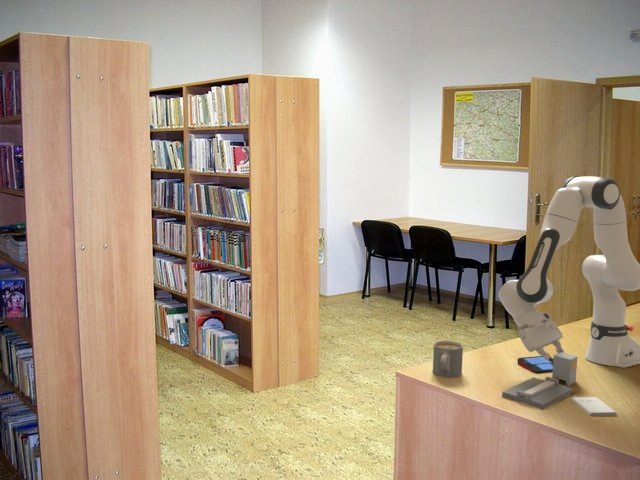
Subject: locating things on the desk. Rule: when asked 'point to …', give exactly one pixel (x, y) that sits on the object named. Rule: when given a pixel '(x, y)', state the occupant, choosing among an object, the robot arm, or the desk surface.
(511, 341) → the desk surface
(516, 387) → the rail mount
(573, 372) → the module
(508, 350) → the desk surface
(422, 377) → the desk surface
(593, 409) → the external hard drive
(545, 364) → the game console
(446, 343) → the coffee mug
